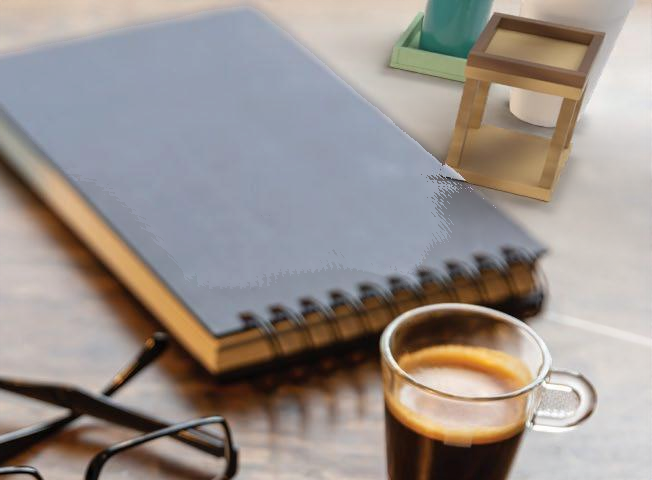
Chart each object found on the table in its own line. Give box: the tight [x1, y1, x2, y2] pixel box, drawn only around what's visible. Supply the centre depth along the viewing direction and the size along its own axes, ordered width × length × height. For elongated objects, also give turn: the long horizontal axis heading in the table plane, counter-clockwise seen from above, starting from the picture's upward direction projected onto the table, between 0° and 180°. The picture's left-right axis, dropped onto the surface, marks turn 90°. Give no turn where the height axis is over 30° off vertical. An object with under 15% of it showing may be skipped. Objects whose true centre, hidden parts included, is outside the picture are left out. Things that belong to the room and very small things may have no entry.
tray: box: [389, 11, 467, 83], centre depth 127 cm, size 9×9×2 cm
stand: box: [444, 11, 606, 202], centre depth 109 cm, size 9×9×11 cm
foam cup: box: [508, 0, 638, 128], centre depth 115 cm, size 10×9×13 cm
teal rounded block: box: [417, 0, 495, 59], centre depth 125 cm, size 6×6×8 cm
